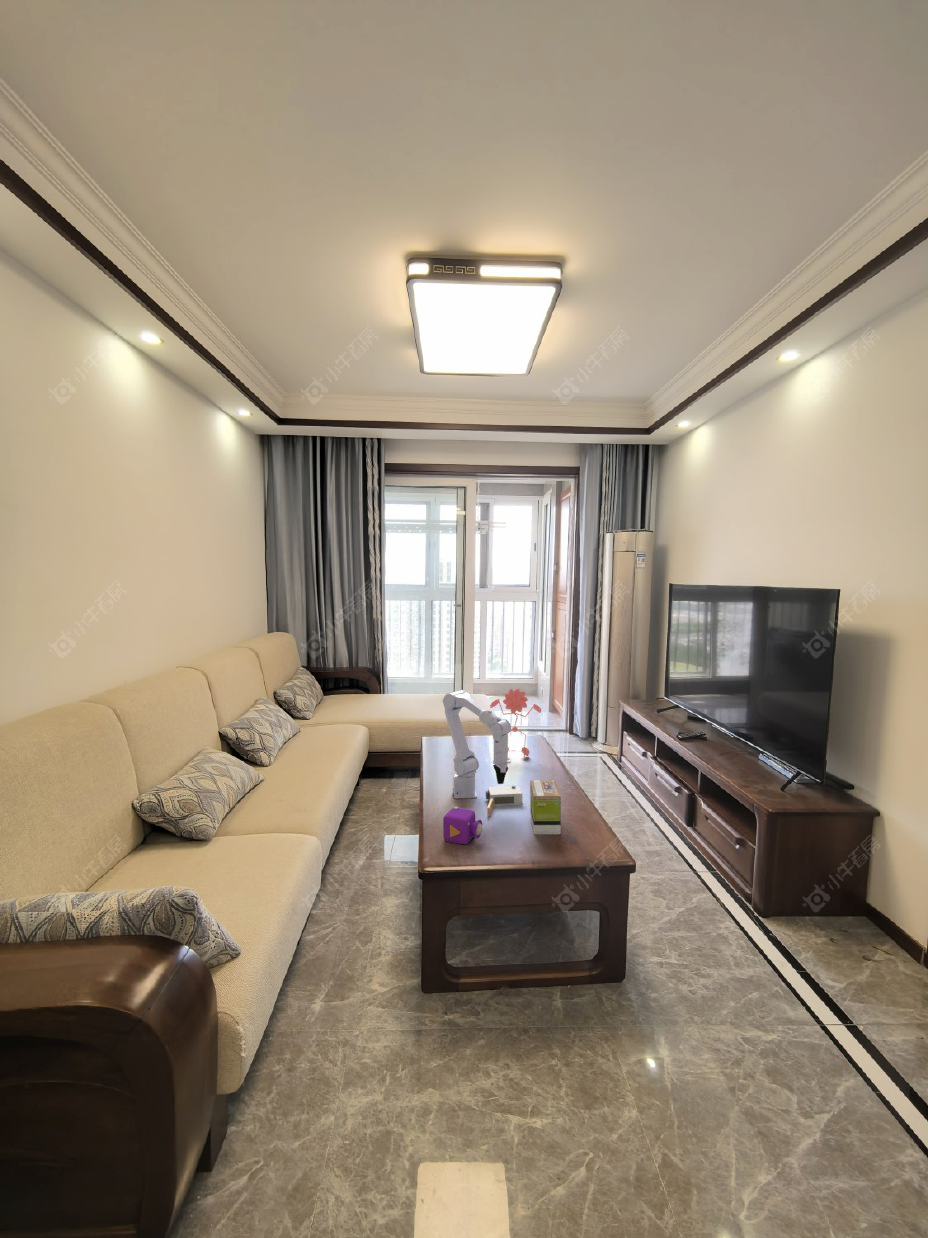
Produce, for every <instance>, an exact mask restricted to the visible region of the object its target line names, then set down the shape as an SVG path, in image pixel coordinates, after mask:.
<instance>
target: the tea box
mask: <svg viewBox="0 0 928 1238" xmlns="http://www.w3.org/2000/svg"><path fill="white" fill-rule="evenodd" d="M529 787H530V788H529V792H530V793H529V794H530V797H529V799H530V800H529V801H530V804H529V805H530V806H529V807H530V808H529V809H530V819H531V826H532V830H533V835H561V834H562V833H561V829H562V828H561V825H562V823H561V820H562V819H561V818H562V817H561V815H562V814H561V813H562V812H561V811H562V809H561V808H562V806H561V805H562V804H561V803H562V801H561V798H562V797H561V793H560V792H559V788H558V785H557V783H556V780H555V779H553V780H552V779H548V780H547V779H546V780H545V779H544V780H541V779H538V780H537V779H535V780H532V779H530V780H529Z"/></svg>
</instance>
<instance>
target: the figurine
mask: <svg viewBox="0 0 928 1238" xmlns="http://www.w3.org/2000/svg"><path fill="white" fill-rule="evenodd" d="M525 695H526V692H525V691H523V690H522V691H521V690H520V689H519V688H517V689H515V690H514V689H512V688H509V691H508V693H505V694H504V699H503V700H502V703H503V704H504V705H505V709H506V710H510V712H507V713H506V712H505V713H504V709H503V707H502V704H501V702H500V699H499V698H497V699H495V700H493V701H492V702H491V703H490V705H489V708H490V709H493V708H495V707H496V706H497V705H498V704H499V707H500V710H501V713H502V715H503V716H505V715H515V716H516V718H515V723H514V726H513V727H511V730H510V732H509V733H511V732H512V731H513V732H520V733H521V734H523V735H524V743H526V738H527V734H525V733H524V732H523V731H521V730H520V729H518V727H517V726H516V725H517V721H518V717H519V716H521V717H524V718H527V716H529V714H530V713H531V711H532V710H533V709H534V710H535V711H536V712H538V713H540V714H541V713H542V708H541V707H540V706H539V705H537V704H536V703H534V704H533V705H532V707H531V708H530V710H529V711H528V712H527V713H526V715H523V714H519V713H522V712H523V708H524V709H526V708H528V704H527V702H528V700H529V698H527V696H525ZM517 712H518V713H517ZM509 733H507V734H508V735H509ZM523 746H524V747H521V750H520V752H521V753H522V754H523V760H524V761H526V756H527V757H529V755H530V749H529V748H528V747H526V744H524V745H523ZM508 752H510V747H509V746H508ZM511 752H515V750H511Z"/></svg>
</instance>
